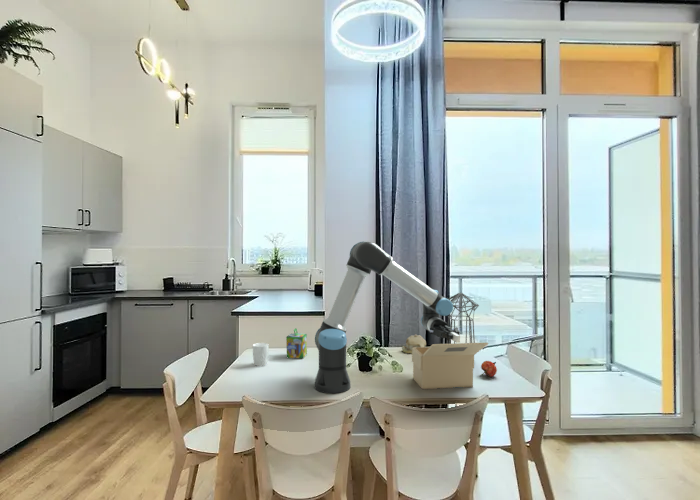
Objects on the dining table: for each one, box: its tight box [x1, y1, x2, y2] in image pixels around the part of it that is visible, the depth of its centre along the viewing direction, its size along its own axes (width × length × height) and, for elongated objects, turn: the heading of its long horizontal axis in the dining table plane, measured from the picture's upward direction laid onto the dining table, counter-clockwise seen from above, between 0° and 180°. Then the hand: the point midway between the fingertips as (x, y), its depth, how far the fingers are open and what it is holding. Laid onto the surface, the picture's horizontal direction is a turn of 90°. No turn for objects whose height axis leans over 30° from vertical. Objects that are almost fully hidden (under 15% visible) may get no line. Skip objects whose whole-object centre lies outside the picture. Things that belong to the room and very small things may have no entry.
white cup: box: [252, 342, 270, 367], centre depth 207 cm, size 8×8×10 cm
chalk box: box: [285, 328, 308, 359], centre depth 222 cm, size 9×9×15 cm
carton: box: [411, 346, 475, 390], centre depth 180 cm, size 23×14×14 cm, turn 97°
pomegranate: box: [479, 360, 498, 378], centre depth 189 cm, size 7×7×10 cm
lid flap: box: [423, 342, 489, 356], centre depth 166 cm, size 22×15×1 cm, turn 97°
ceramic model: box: [401, 333, 427, 354], centre depth 232 cm, size 14×11×10 cm
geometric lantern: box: [446, 292, 480, 344], centre depth 217 cm, size 16×16×35 cm
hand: (458, 339), depth 163 cm, fingers closed
